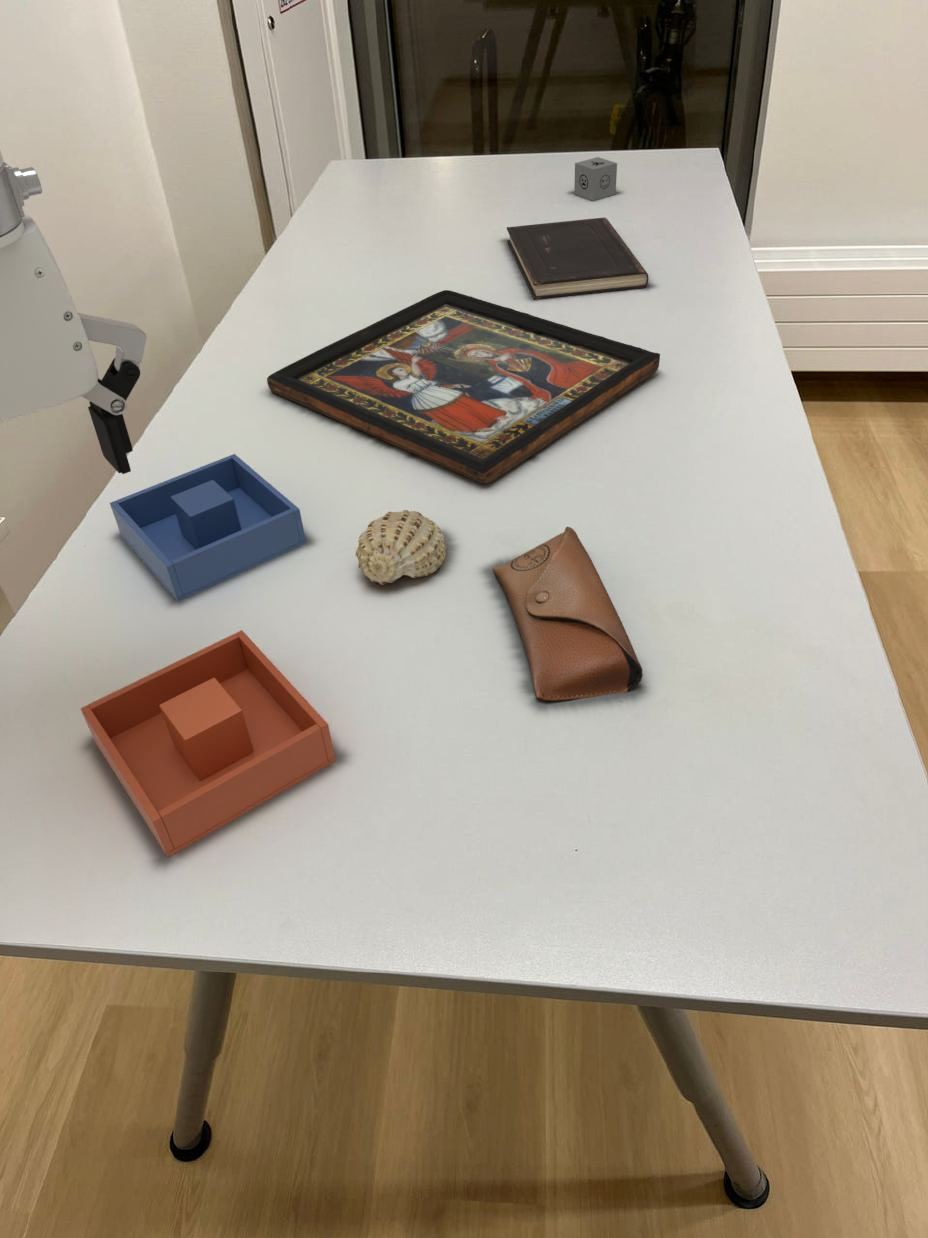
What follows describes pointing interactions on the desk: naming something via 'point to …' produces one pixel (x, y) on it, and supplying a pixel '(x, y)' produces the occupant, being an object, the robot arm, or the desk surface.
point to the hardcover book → (574, 258)
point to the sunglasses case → (568, 622)
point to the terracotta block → (207, 728)
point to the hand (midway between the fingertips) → (44, 490)
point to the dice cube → (595, 178)
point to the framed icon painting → (465, 381)
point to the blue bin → (187, 570)
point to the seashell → (400, 547)
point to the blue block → (205, 514)
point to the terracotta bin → (192, 809)
